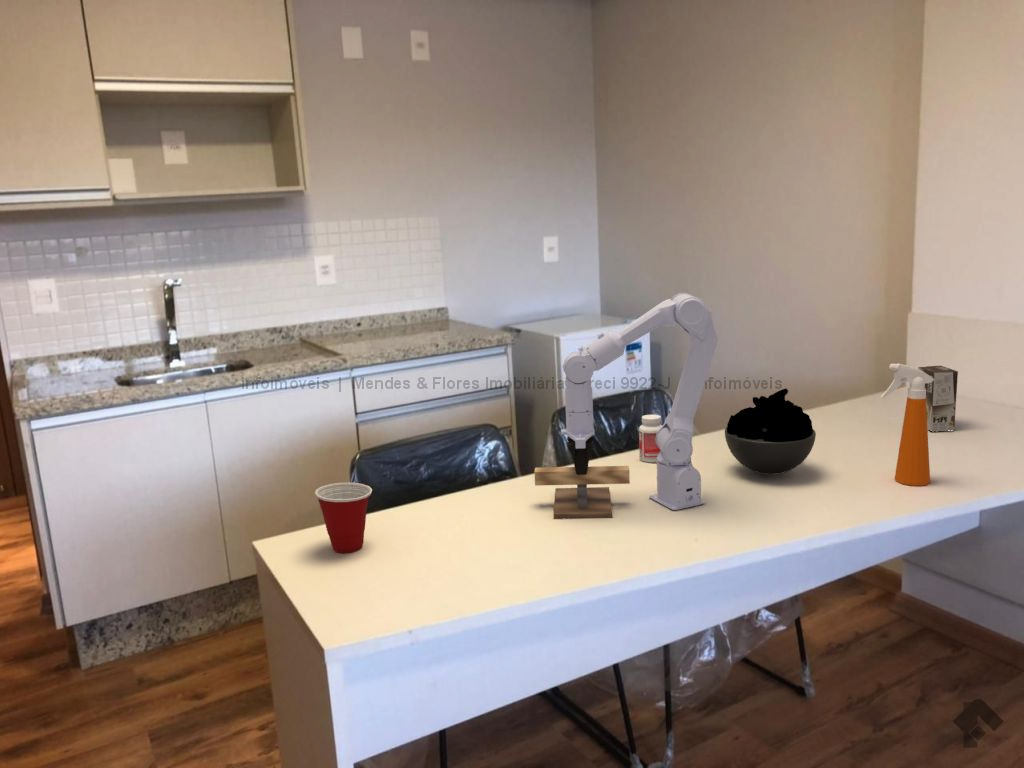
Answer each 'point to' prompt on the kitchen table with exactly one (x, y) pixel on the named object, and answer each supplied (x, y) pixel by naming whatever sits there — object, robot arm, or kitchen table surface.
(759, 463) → the bowl of black rocks
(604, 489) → the ridge stand
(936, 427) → the coffee box
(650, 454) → the pill bottle
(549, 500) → the kitchen table surface
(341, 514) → the plastic cup
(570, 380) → the robot arm
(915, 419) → the spray bottle
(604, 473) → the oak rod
